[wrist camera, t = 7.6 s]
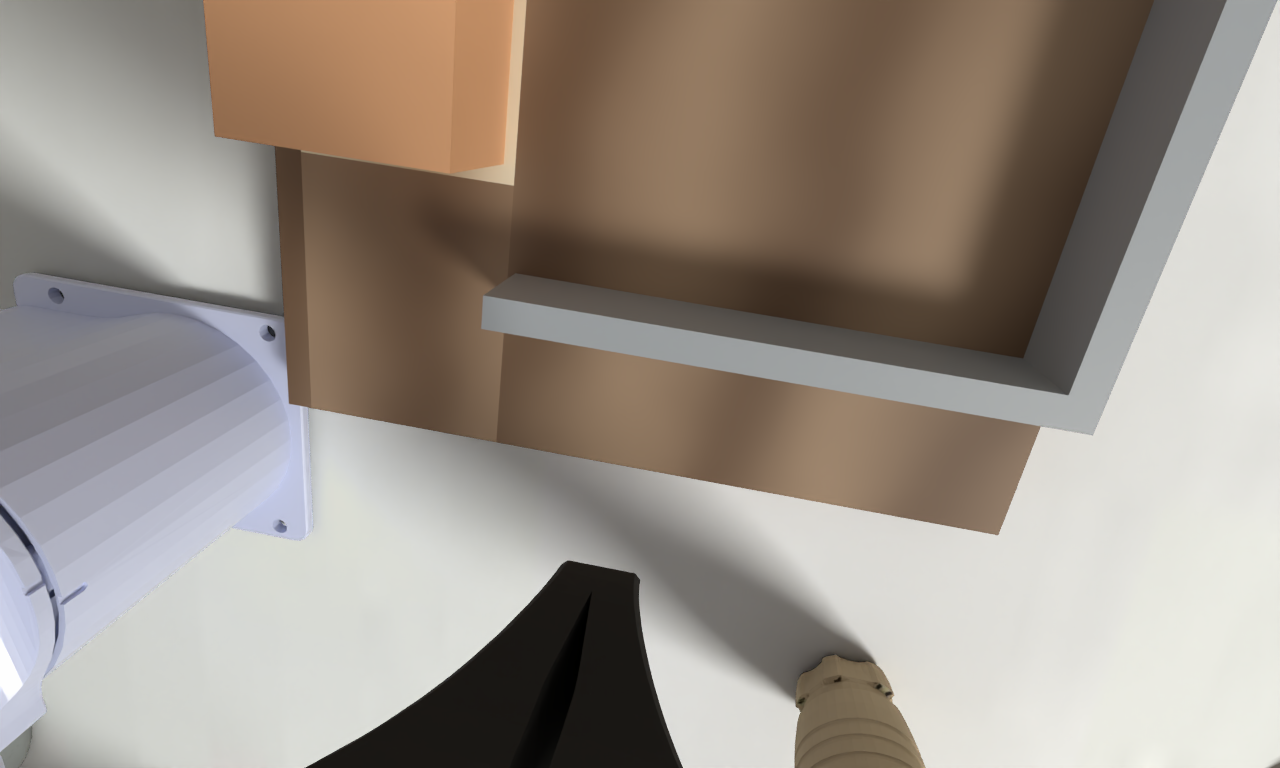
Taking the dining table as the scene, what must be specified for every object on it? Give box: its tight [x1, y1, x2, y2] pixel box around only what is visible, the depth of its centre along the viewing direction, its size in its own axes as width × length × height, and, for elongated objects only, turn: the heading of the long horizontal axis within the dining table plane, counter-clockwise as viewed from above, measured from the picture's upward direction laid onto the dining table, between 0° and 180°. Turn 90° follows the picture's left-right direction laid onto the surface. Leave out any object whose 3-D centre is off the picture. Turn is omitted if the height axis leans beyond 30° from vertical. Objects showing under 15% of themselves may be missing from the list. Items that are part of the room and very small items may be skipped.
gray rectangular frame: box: [481, 0, 1277, 435], centre depth 15 cm, size 14×12×2 cm
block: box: [203, 0, 514, 174], centre depth 15 cm, size 5×5×4 cm
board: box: [275, 0, 1154, 535], centre depth 17 cm, size 20×20×2 cm
